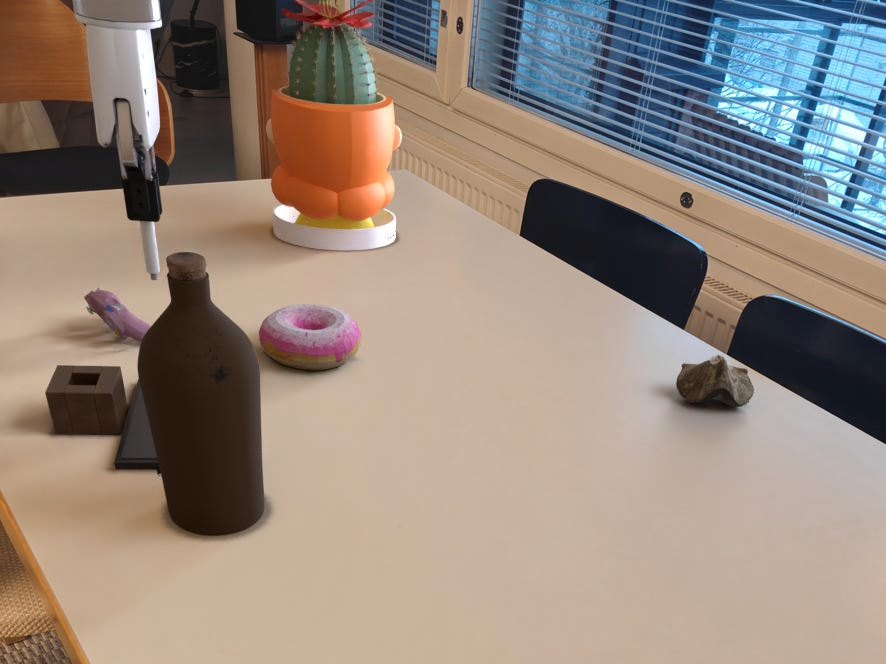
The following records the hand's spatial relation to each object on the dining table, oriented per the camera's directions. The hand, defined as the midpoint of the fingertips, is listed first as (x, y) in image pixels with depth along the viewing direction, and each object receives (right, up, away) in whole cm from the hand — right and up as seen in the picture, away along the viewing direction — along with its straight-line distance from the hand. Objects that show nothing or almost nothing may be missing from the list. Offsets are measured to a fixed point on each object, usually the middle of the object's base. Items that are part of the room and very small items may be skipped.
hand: (145, 216), depth 93 cm
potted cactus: (+10, +26, +63) cm, 69 cm away
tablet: (0, -19, +10) cm, 22 cm away
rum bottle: (+8, -31, -2) cm, 32 cm away
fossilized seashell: (+66, -12, +28) cm, 73 cm away
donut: (+12, -6, +27) cm, 31 cm away
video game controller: (-13, -3, +27) cm, 30 cm away
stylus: (-1, -5, +4) cm, 7 cm away
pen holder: (-9, -19, +9) cm, 23 cm away
